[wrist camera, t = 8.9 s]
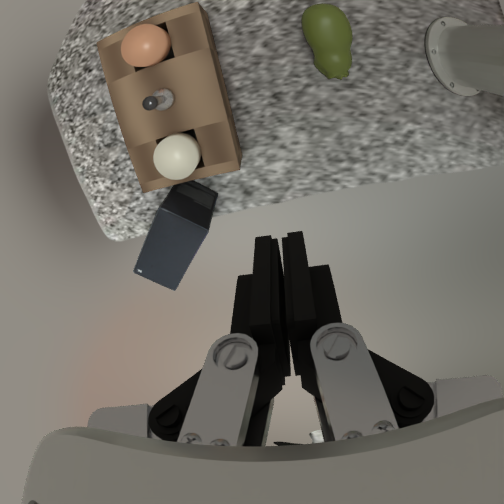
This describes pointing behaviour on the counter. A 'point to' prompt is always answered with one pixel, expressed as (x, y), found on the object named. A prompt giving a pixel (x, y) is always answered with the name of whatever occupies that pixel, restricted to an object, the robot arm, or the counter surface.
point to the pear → (328, 39)
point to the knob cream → (177, 155)
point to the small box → (176, 233)
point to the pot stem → (159, 100)
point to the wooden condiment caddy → (186, 97)
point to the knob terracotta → (146, 46)
